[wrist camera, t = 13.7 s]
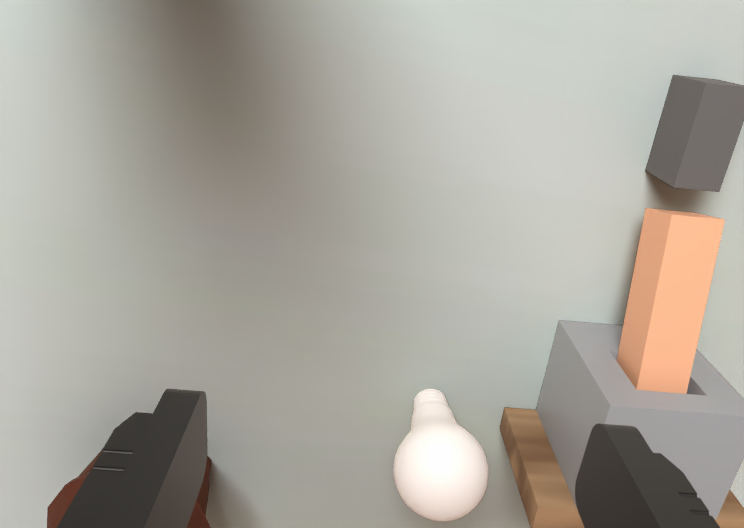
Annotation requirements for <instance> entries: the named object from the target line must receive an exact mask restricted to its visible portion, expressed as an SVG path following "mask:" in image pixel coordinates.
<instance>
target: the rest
mask: <svg viewBox="0 0 744 528" xmlns="http://www.w3.org/2000/svg"><path fill="white" fill-rule="evenodd" d="M743 122H744V85H739V84H735V83H730V82H726V81H721V80H716V79H706V78H697V77H687V76H678V75H673V77H672V80H671V84H670V87H669V91H668V94H667V98H666V101H665V104H664V108H663V111H662V115H661V118H660V122H659V125H658V129H657V132H656V135H655V139H654V142H653V146H652V149H651V153H650V156H649V160H648V163H647V166H646V170H645V171H647V172H649V173H650V174H652V175H654V176H655V177H657V178H659V179H660V180H662V181H664V182H665V183H667V184H668V185H670V186H672V187H673V188H684V189H694V190H704V191H715V192H719V191H720V188H721V185H722V182H723V179H724V177H725V174H726V171H727V168H728V165H729V162H730V159H731V156H732V153H733V151H734V148H735V145H736V142H737V139H738V136H739V133H740V130H741V128H742V125H743Z"/></svg>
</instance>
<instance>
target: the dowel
mask: <svg viewBox="0 0 744 528" xmlns="http://www.w3.org/2000/svg"><path fill="white" fill-rule="evenodd" d="M724 221H725V220H724V219H720V218H716V217H711V216H707V215H702V214H698V213H693V212H682V211H671V210H661V209H650V208H646V210H645V215H644V220H643V225H642V231H641V236H640V241H639V246H638V251H637V257H636V262H635V267H634V272H633V277H632V283H631V288H630V293H629V298H628V303H627V309H626V314H625V319H624V324H623V329H622V335H621V340H620V345H619V350H618V355H617V362H618V364H619V365H620V367H621V368H622V370H623V371H624V373H625V374H626V375H627V377H628V378H629V380H630V381H631V383H632V384H633V386H634V387H635V388H636V390H644V391H656V392H669V393H681V394H686V393H687V389H688V384H689V380H690V375H691V371H692V366H693V361H694V357H695V352H696V348H697V343H698V339H699V334H700V330H701V325H702V321H703V316H704V312H705V307H706V303H707V298H708V294H709V289H710V285H711V280H712V276H713V271H714V266H715V262H716V257H717V253H718V248H719V244H720V239H721V235H722V230H723V226H724Z"/></svg>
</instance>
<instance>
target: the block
mask: <svg viewBox="0 0 744 528" xmlns="http://www.w3.org/2000/svg"><path fill="white" fill-rule="evenodd" d="M622 329H623V326H621V325H610V324H598V323H586V322H574V321H563V320H559V323H558V326H557V330H556V334H555V338H554V342H553V346H552V350H551V354H550V357H549V361H548V365H547V369H546V373H545V377H544V381H543V385H542V388H541V392H540V396H539V400H538V404H537V408H536V411H537V413H538V416H539V418H540V420H541V423H542V425H543V428H544V430H545V433H546V435H547V437H548V440H549V442H550V445H551V447H552V450H553V452H554V454H555V457H556V459H557V462H558V464H559V466H560V469H561V471H562V474H563V476H564V479H565V481H566V483H567V486H568V488H569V491H570V493H571V496H572V498H573V500H574V503H575V505H576V500H575V484H576V479H577V475H578V472H579V469H580V465H581V462H582V459H583V456H584V452H585V449H586V446H587V443H588V439H589V436H590V433H591V430H592V428H593V427H594V425H596V424H598V423H600V424H613V425H626V426H634V427H636V428H637V429H638V430H639V432H640V433H641V435H642V436H643V438H644V439H645V441H646V443H647V444H648V446H649V447H650V449H651V450H652V452H653V453H661V454H662V455H663V456H665V457H666V458H667V459H668V460H669V461H670V462H672V463H673V464H674V465H675V466H676V467H677V468H679V469H680V470H681V471H682V472H683V473H684V474H685V476H686V477H687V479H688V480H689V482H690V483H691V485H692V486H693V488H694V489H695V491H696V492H697V497H698V498H701V500H702V501H703V503H704V504H705V506H706V507H707V509H708V510H709V515H710V516H713V518H714V519H717V517H718V514H719V512H720V510H721V508H722V505H723V503H724V501H725V499H726V496H727V494H728V492H729V490H730V488H731V485H732V483H733V481H734V479H735V476H736V474H737V472H738V470H739V467H740V465H741V463H742V461H743V458H744V398H743V397H742V396H741V395H740V394H739V393H738V392H737V391H736V390H735V389H734V388H733V387H732V385H731V384H730V383H729V382H728V381H727V380H726V379H725V378H724V377H723V376H722V375H721V374H720V373H719V372H718V371H717V370H716V369H715V368H714V367H713V365H712V364H711V363H710V362H709V361H708V360H707V359H706V358H705V357H704V356H703V355H702V354H701V353H700V352H699V351H698V350H697V349H696V352H695V357H694V361H693V366H692V371H691V375H690V380H689V384H688V389H687V393H686V394H681V393H669V392H656V391H644V390H636V388H635V387H634V386H633V384H632V383H631V381H630V380H629V378H628V377H627V375H626V374H625V373H624V371H623V370H622V368H621V367H620V365H619V364H618V362H617V355H618V350H619V345H620V340H621V335H622ZM576 508H577V506H576Z"/></svg>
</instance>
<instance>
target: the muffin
mask: <svg viewBox="0 0 744 528" xmlns="http://www.w3.org/2000/svg"><path fill="white" fill-rule="evenodd" d="M102 452H103V449H102V451H101V452H100V453H102ZM100 453H99V454H98V455H97V456H96V457H95V458H94V460H93V461H92V462H91V463H90V464H89V465H88V466H87V467H86V469H85V470H84V471H83V472H82V473H81V474H80V475H79V476H78V478H76V479H73V480H72V481H70V482H69V483H68V484H66V485H65V486H64V487H63V489H62V490H61V491H60V493H59V494H58V495H57V496H56V498H55V499H54V500H53V502H52V503H51V504H50V505H49V507H48V517H47V528H57V526H58V524H59V522H60V521H61V519H62V517H63V516H64V514H65V512H66V511H67V509H68V507H69V506H70V504H71V502H72V500H73V499H74V497H75V495H76V494H77V492H78V490H79V489H80V487H81V485H82V484H83V482H84V480H85V479H86V477H87V475H88V473H89V472H90V470H92V469H93V465H94V463H95V462H96V460H97V458H98V457H99V455H100ZM210 467H211V459H210V458H209V457H208V456H207V461H206V468H205V474H204V478H203V482H202V485H201V488H200V491H199V494H198V497H197V500H196V503H195V506H194V508H193V511H192V514H191V517H190V520H189V523H188V526H187V528H210V526H209V524H208V522H207V520H206V517H205V516H206V508H207V500H208V492H209V474H210Z"/></svg>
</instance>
